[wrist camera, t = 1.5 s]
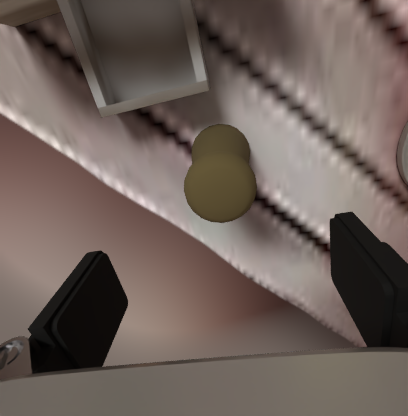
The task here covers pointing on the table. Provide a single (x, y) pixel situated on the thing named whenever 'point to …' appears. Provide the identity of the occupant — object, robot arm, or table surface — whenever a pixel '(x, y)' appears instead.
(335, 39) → the table surface
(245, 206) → the olive rounded piece
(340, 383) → the robot arm
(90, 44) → the wall board holder
